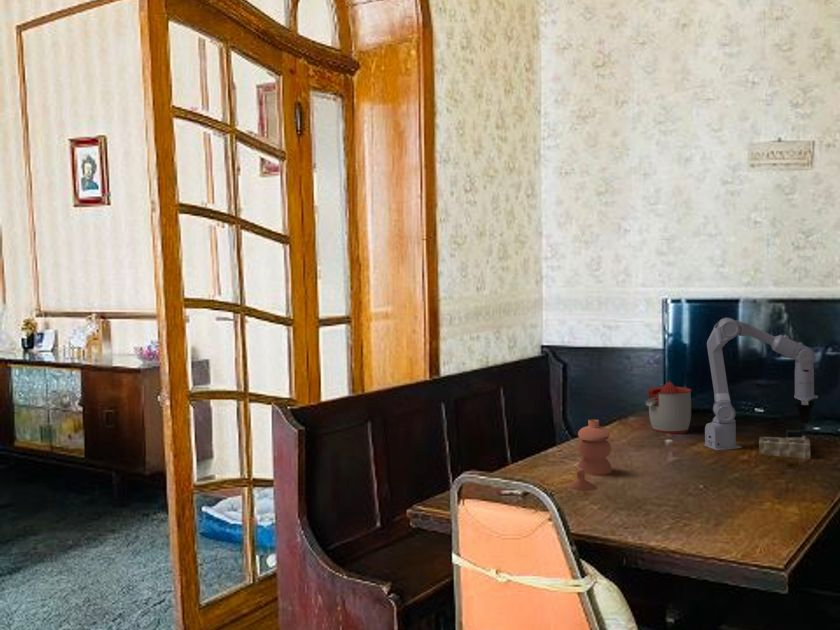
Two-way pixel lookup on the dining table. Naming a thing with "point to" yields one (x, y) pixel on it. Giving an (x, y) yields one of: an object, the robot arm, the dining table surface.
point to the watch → (795, 434)
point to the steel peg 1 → (771, 440)
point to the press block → (785, 447)
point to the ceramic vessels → (592, 455)
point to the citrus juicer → (669, 408)
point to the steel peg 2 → (796, 441)
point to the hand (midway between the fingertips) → (804, 422)
